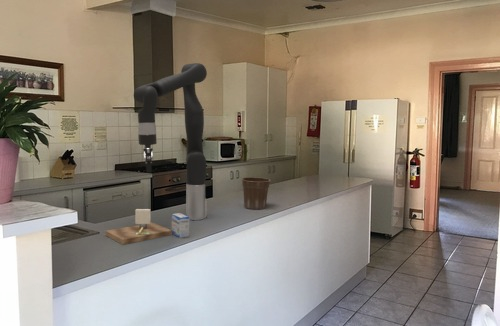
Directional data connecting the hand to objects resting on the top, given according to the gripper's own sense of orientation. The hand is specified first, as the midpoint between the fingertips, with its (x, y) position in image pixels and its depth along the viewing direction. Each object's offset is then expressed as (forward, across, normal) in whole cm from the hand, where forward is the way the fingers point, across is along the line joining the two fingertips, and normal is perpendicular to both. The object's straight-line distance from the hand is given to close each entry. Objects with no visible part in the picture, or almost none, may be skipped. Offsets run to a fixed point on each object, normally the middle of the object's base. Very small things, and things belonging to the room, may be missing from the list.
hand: (148, 170), depth 182 cm
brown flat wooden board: (+26, +8, -5) cm, 28 cm away
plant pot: (+29, -37, +58) cm, 75 cm away
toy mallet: (+24, +9, -4) cm, 26 cm away
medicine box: (+27, +11, +12) cm, 31 cm away
